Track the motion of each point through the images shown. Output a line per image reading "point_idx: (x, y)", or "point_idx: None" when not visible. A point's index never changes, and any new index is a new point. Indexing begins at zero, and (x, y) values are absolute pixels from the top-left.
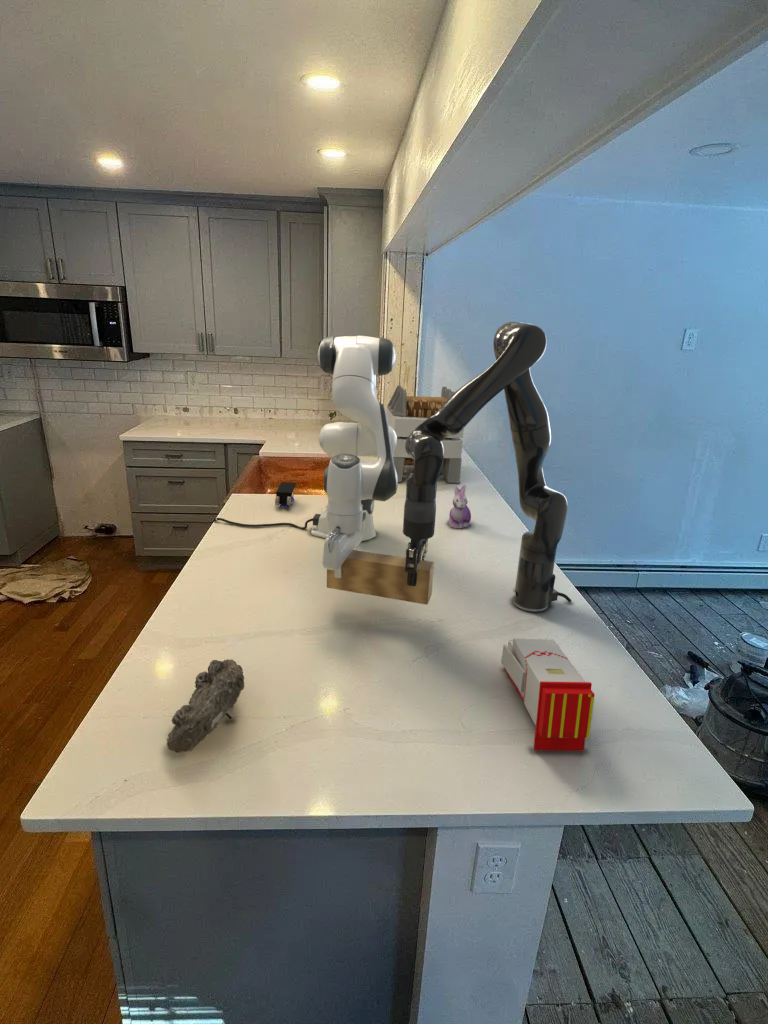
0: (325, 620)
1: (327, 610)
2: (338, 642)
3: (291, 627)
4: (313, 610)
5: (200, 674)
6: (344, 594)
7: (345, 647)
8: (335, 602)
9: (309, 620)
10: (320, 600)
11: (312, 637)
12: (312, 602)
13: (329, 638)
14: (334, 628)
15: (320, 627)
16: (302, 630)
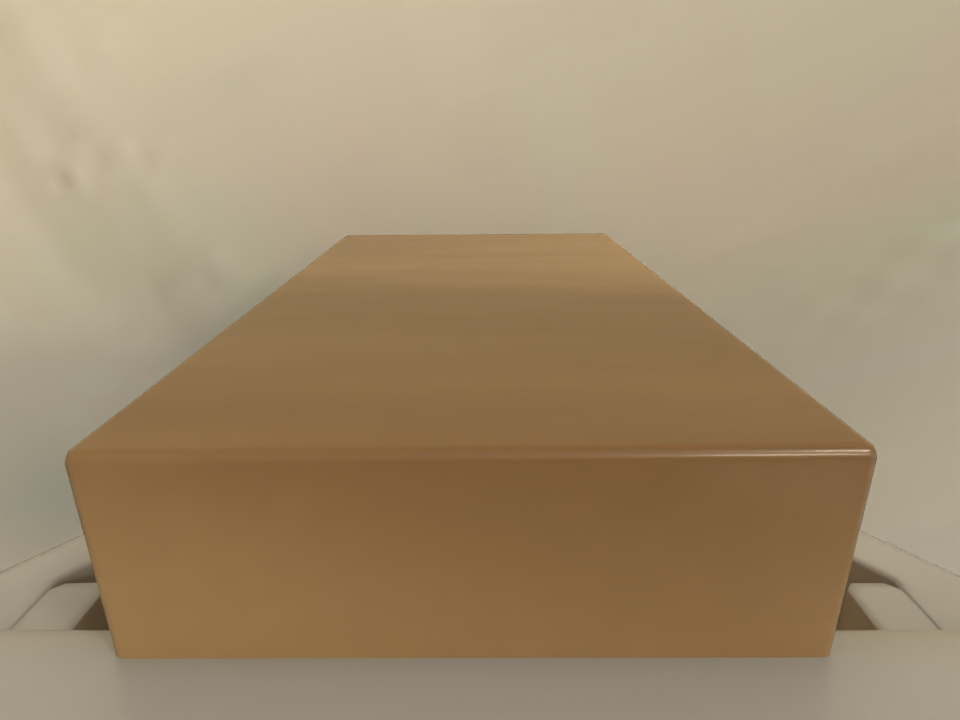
0: (272, 240)
1: (422, 196)
2: (61, 426)
3: (34, 5)
4: (376, 76)
5: None
6: (731, 234)
7: (37, 481)
8: (573, 211)
9: (211, 113)
10: (567, 65)
11: (10, 239)
12: (507, 3)
13: (69, 356)
14: (202, 343)
15: (162, 242)
16: (48, 122)
